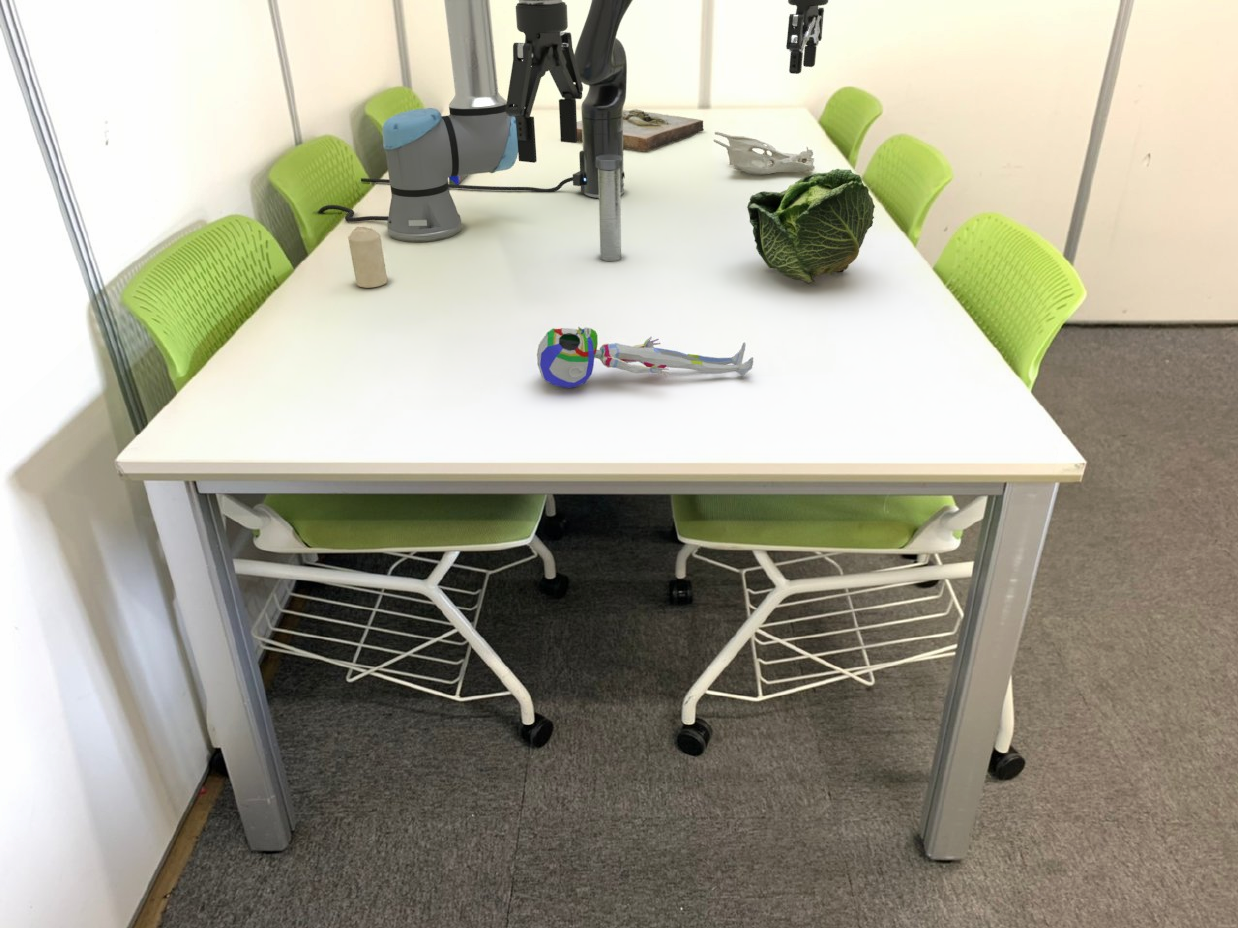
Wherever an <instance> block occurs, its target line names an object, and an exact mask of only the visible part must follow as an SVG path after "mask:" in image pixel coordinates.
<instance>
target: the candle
mask: <svg viewBox="0 0 1238 928" xmlns="http://www.w3.org/2000/svg"><path fill="white" fill-rule="evenodd" d="M347 239H348V244H349V251H350V256H351V262H352V267H353V272H354V273H353V274H354V277H355V278H354V279H355V283H356V285H357V286H358V287H360V288H367V289H369V288H377V287H380V286H384V285H385V284H387V283H388V274H387V268H386V261H385V257H384V250H383V244H382V243H383V242H382V237H381V233H379V231H377V230H375V229H373V228H372V227H370V228H369V227H366V226H356V227H354V228H353V230H352V231H351V232H350V234H349V235H348V237H347Z"/></svg>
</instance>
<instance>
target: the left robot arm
mask: <svg viewBox="0 0 1238 928" xmlns="http://www.w3.org/2000/svg"><path fill="white" fill-rule="evenodd" d="M443 2H444V10H445V11H444V12H445V19H446V29H447V37H448V47H449V53H450V62H451V70H452V71H451V72H452V80H453V87H454V97H453V98H452V99H451V101H450V102H449V103H448V110H449V115H442V113H441V112H440V110H439V109H437V108H432V107H427V108H415V109H411V110H406V111H403V112H399V113H397V114H394V115H392V116H390V117H389V118H387V119H385V121H384V122H383V124H382V140H383V141H382V142H383V144H382V147H383V149H384V152H385V153H384V154H385V159H386V166H387V172H388V179H389V181H390V183H389V187H390V194H391V195H390V196H391V198H390V204H389V209H388V215H387V216H384V215H366V216H357V217H353V216H354V215H355V211H354V210H353V209H352V208H348V207H346V206H342V205H338V204H328V205H324V206H321V208H319V209H318V210H317V214H321V215H322V214H323V213H324V212H326V211H329V210H338V211H341V212H344V213H346V214H345V216H344V220H345V221H347V222H350V223H352V222H353V223H358V222H366V221H384V222H385V221H386V227H387V234H388V236H389V237H391V238H392V239H395V240H397V241H402V242H411V243H412V242H413V243H421V242H422V243H423V242H434V241H440V240H444V239H448V238H451V237H454V236H456V235H458V234H459V233H460V232H461V231H462V230H463V221H462V217H461V215H460V213H459V211H458V210H457V206H456V204H455V202H454V199H453V197H452V195H451V192H450V188H449V185H448V184H449V177H454V176H462V175H467V176H469V175H478V174H488V173H489V174H494V173H495V174H496V173H497V172H502V171H507V170H510V169H512V168H513V166H514V165H515V164H516V161H517V159H518V161H519V162H522V163H523V162H524V163H533V164H534V163H537V160H538V159H537V145H536V143H537V142H536V128H535V116H531V115H532V112H533V107H534V103H535V100H536V97H537V94H538V90H539V87H540V83H541V80H542V78H543V77H545V75H546V72H549V73H550V76H551V78H552V79H553V82H554V84H555V85H556V87H557V90H558V92H559V94H560V96H561V98H559V99H558V111H559V130H560V131H559V132H560V133H559V134H560V142H561V143H571V144H576V143H578V141H577V122H578V121H577V119H578V118H577V117H578V116H577V100H582V99H583V91H584V84H583V83H582V82H581V78H580V74H579V70H578V67H577V63H576V59H575V55H574V54H575V51H574V49H573V38H572V33H571V32H569V31H567V29H568V28H569V27H568V26H569V25H568V23H569V22H568V4H566V2H565V1H563V0H518V3H516V5H515V21H516V29H517V31H518V32H520V33H523V34H524V42H513V45H512V65H511V71H510V77H509V78H510V79H509V85H508V91H507V98H506V99H505V98H504V97H503V96H502V95H501V94H500V92H499V85H498V73H497V64H496V63H497V61H496V53H495V52H496V51H495V43H494V42H495V41H494V31H493V21H492V13H491V12H492V10H491V1H490V0H443ZM566 31H567V32H566Z"/></svg>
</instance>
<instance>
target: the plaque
mask: <svg viewBox="0 0 1238 928" xmlns="http://www.w3.org/2000/svg"><path fill="white" fill-rule="evenodd" d="M704 130H705V129H704V120H702V119H698V118H693V117H685V116H679V115H669V114H663V113H659V112H650V111H644V110H642V109H637V108H636V109H635V108H634V109H630V110H629V109H623V149H625V150H632V151H640V152H648V151H654V150H656V149H659V148H662V147H663V146H664V147H665V146H667V145H670V144H672V143H676V142H680V141H682V140H684V139H687V138H691V137H692V136H694V135H696V134H698V133H700V132H704ZM577 142H581V143H583V140H582V120H579V121H577Z"/></svg>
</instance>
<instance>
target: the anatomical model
mask: <svg viewBox="0 0 1238 928" xmlns="http://www.w3.org/2000/svg"><path fill="white" fill-rule="evenodd" d="M714 135H717V136H721V137H723V138H726V139H727V140H728V144H729V145H728V144H725V143H724V142H721V140H717V139H713V142H714V143H716V144H718V145H719V146H721V147H724V148H726V150H727V156H728V159H729V164H728V165H729V166H733V169H734V170H736V171H739V172H740V171H742V172H745V173H746V174H749V175H756V176H757V175H758V176H759V175H770V174H775V173H781V172H782V173H783V172H787V173H790V172H792V173H793V172H794V173H803V174H804V173H807V172H808V173H809V172H813V171H814V170H815V165H814V163H815V158H813V155H814V151H813V149H809V147H808V146H806V151H805V150H803V151H801V152H800V153H789V152H781V151H779V150H777V149H776V148H775V147H774V146H772V144H769V143H766V142H764V141H761V140H759V139H756V138H752V137H747V136H742V135H741V136H740V135H731V134H727V133H724V132H719V131H715V132H714ZM753 149H760V150H762V151H763V153H758V152H756V151H754V150H753ZM768 152H770V153H771V154H768Z"/></svg>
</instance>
